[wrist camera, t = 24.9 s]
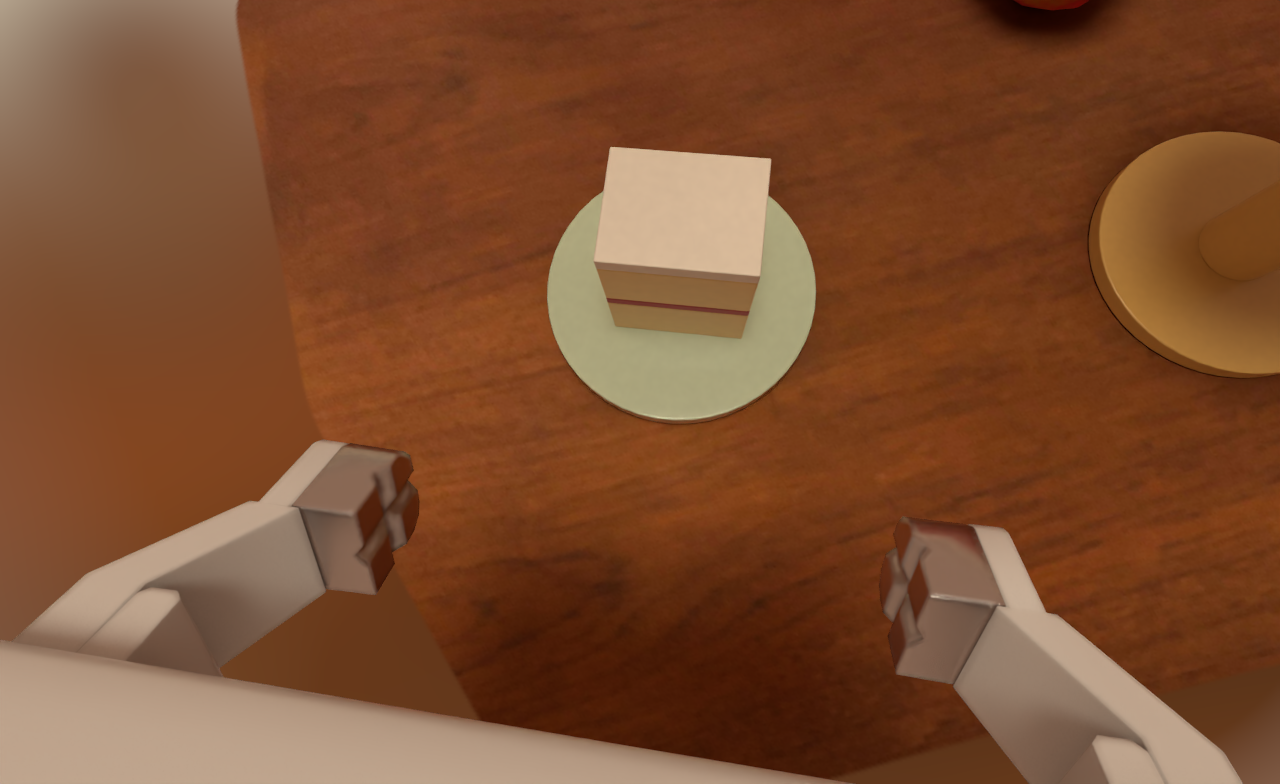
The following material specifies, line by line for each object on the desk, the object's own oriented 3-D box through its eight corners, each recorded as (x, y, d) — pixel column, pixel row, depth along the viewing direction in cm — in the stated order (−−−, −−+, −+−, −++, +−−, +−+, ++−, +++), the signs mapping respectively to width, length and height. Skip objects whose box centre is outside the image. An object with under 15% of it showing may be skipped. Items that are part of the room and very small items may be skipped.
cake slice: (741, 339, 33) (760, 276, 25) (615, 326, 33) (593, 261, 25) (750, 247, 34) (771, 158, 26) (627, 237, 34) (609, 146, 26)
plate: (771, 458, 33) (774, 456, 31) (515, 379, 34) (509, 374, 33) (841, 213, 35) (846, 202, 34) (599, 150, 37) (596, 138, 36)
